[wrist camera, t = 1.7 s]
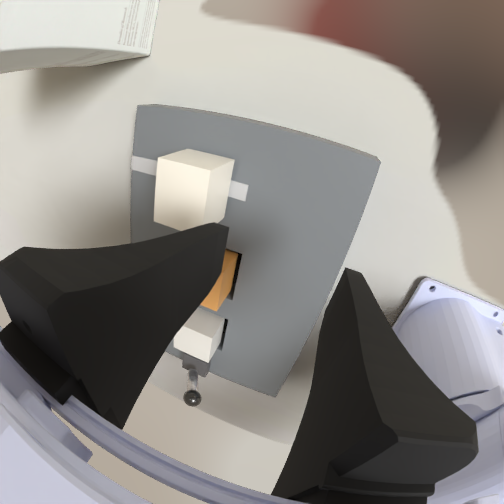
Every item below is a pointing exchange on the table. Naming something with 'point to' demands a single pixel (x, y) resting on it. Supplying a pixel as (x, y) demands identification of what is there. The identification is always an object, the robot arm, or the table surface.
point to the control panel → (261, 229)
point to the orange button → (222, 282)
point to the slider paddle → (191, 188)
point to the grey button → (200, 334)
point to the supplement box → (73, 32)
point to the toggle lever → (192, 389)
